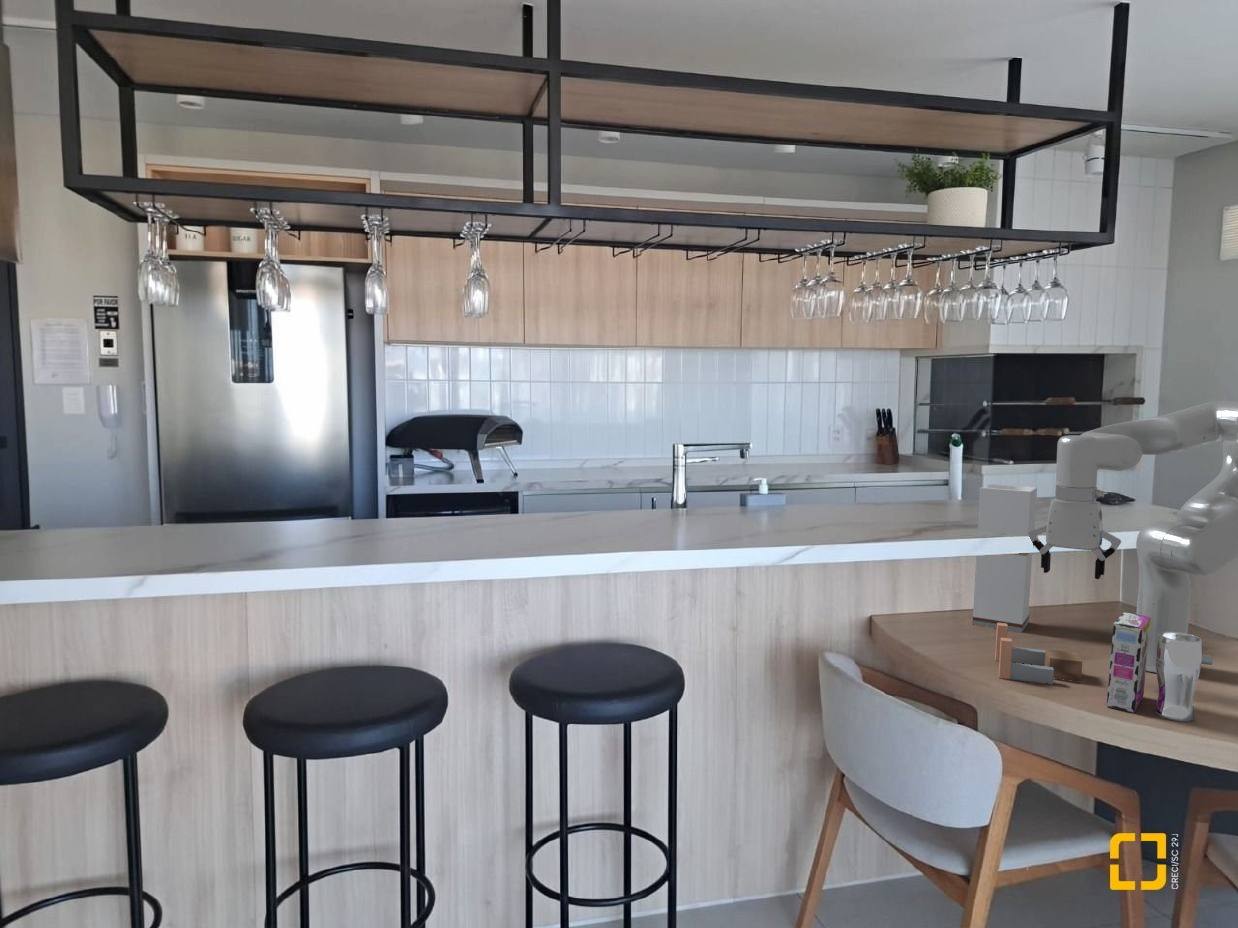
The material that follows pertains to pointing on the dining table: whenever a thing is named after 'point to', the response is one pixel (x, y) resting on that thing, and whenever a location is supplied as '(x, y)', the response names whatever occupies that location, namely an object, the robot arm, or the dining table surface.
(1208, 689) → the dining table surface
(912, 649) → the dining table surface
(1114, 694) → the milk carton
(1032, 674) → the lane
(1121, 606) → the dining table surface
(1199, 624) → the dining table surface
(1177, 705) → the beer glass
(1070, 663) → the walnut block
